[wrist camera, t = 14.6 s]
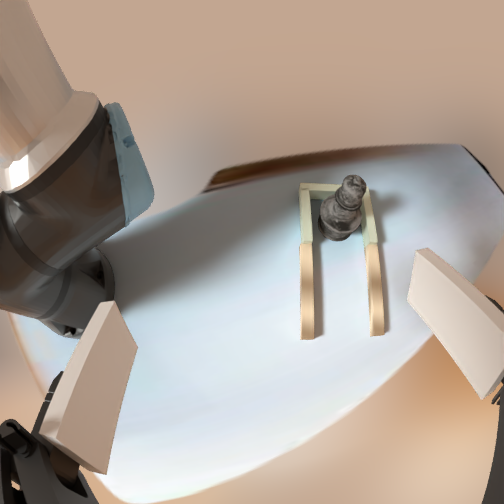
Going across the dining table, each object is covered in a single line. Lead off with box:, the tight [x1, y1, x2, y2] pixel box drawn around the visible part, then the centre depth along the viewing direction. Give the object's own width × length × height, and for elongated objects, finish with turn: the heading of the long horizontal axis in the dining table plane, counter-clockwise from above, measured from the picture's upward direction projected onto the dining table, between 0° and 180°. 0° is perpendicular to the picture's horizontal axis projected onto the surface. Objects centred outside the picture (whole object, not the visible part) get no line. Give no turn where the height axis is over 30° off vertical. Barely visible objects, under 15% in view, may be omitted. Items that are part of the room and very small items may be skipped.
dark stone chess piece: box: [318, 175, 367, 241], centre depth 32 cm, size 6×6×12 cm
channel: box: [299, 243, 384, 340], centre depth 34 cm, size 12×11×2 cm
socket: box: [298, 183, 378, 248], centre depth 37 cm, size 9×10×2 cm
